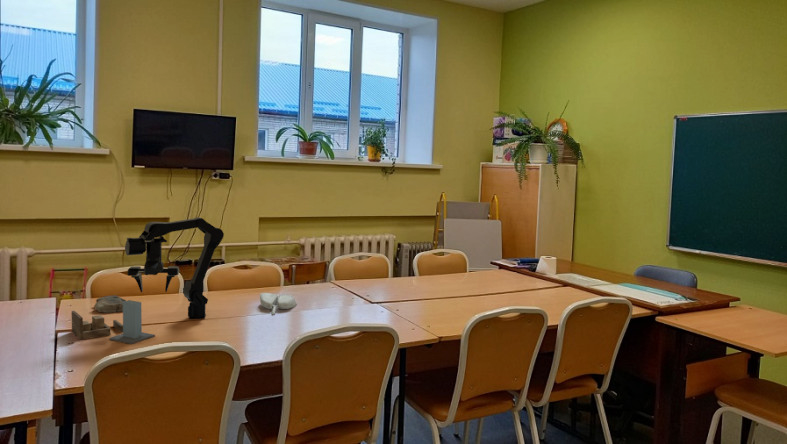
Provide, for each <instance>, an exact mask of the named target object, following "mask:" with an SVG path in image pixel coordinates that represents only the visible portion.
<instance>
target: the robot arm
mask: <svg viewBox="0 0 787 444" xmlns="http://www.w3.org/2000/svg"><path fill="white" fill-rule="evenodd" d="M192 229H198V230H199V231H200V232H202V233H203V234H204V235H203V248H202V251H201V254H200V257H199V258H198V261H197V265H196V267H195V269H194V273H193V276H192V277H191V279H190V280H186V281H185V283H184V286H183V288H182V290H183V291H182V292H183V295H184V296H183V297H184V298H185V299H187V301H188V303H189V304H188V306H187V317H188V319H189V320H198V319H200V320H201V319H203V320H205V319H206V317H207V313H206V310H207V309H206V306H207V305H208V302H209V298H207V297H206V296H205V295H204V285H205V284H204V281H205V279H206V275H207V272H208V270H209V266H210V264H211V261H212V258H213V255H214V253H215V251H216V249H217V248H218V246H219V245H220V244H221V242H222V241H223V239H224V236H225V233H224V231H223V230H222V229H221V228H219V227H215V226H213V225H212V224H211V223H209V222H208V221H206V220H205V219H204V218H202V217H194V218H188V219H183V220H182V219H181V220H174V221H169V222H166V221H165V222H163V221H149V222H147V223H146V224H145V226H144V230H142V233H141V234H140V235H139V236H138V237H127V238H126V241H125V245H124V251H125V255H126V256H137V255H138V256H139V255H143V254H144V253H145V254H146V255H145V262H144V266H143V268H141V267H142V266H140V265H139V266H138V265H137V266H136V265H135V266H134V265H133V266H130V267H129V268H128V269H127V276H128V277H129V276H130V277H131V278H133V279H134V280H135V281H136V284H137V286H138V288H139V290H140V293H143V291H144V290H143V275H142V274H144V276H152V275H153V276H157V275H158V274H167V275H165V276H166V279H165V280H166V281H165V289H164V290H165V293H167V291H168V289H169V286H170V284H171V281H172V279H173V278H175V277H176V276H178V275H179V274H180V267H179V266H177V265H169V266H168V267H167V268H166V267H164V262H162V256H163V255H162V253H163V252H162V243H167V242H168V240H167V239H165V237H164V236H165V235H168V234H170V233H174V232H180V231H184V230H192Z"/></svg>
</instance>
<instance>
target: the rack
mask: <svg viewBox="0 0 787 444" xmlns="http://www.w3.org/2000/svg"><path fill="white" fill-rule="evenodd" d="M83 321H84V319H83V317H82V316H81V315H80V314H79V313H78V312H76V311H75V310H71V333H73V334H74V336H76V337H77V339H79V340H85V339H93V338H99V337H104V336H105V337H106V336H111V335H112V334H111V332H112V331H111V327H110V326H109V325H107V324H106V323H105V322H104V329H98V330H96V329H95V328H94V327H93V326H92V322H89V323H90V324H91V331H84V332H83ZM112 325H113V327H114V328H115V329H116V330H117V331H118V332H120V333H123V323H121V322H120V321H118V320H117V319H114V320H112Z"/></svg>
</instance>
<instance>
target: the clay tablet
mask: <svg viewBox="0 0 787 444" xmlns="http://www.w3.org/2000/svg"><path fill="white" fill-rule="evenodd" d="M124 301H127V300H126V299H124V298H122V297H121V296H118V295H116V294H115V295H113V294H112V295H105V296H101V297H98V298H97V299H95V304H94V309H95V311H97V312H99V313H104V314H113V312H114V313H121V312H122V313H123V302H124Z"/></svg>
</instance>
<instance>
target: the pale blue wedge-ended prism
mask: <svg viewBox="0 0 787 444" xmlns="http://www.w3.org/2000/svg"><path fill="white" fill-rule="evenodd" d="M142 316H143V315H142V301H137V300H131V299H130V300H126V301H124V302H123V312H122V325H123V332H122V334H123V336H125V337H130V338H139V337H142V332H143V330H142V325H143V324H142V318H143V317H142Z"/></svg>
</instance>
